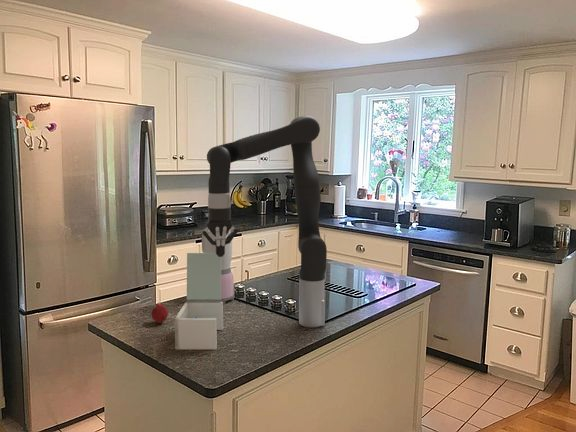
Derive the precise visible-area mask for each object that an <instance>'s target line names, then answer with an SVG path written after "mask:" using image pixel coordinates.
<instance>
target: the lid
mask: <svg viewBox="0 0 576 432" xmlns="http://www.w3.org/2000/svg"><path fill="white" fill-rule="evenodd" d="M186 302H221V257H218V255H216V253H203V252H187V253H186Z"/></svg>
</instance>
